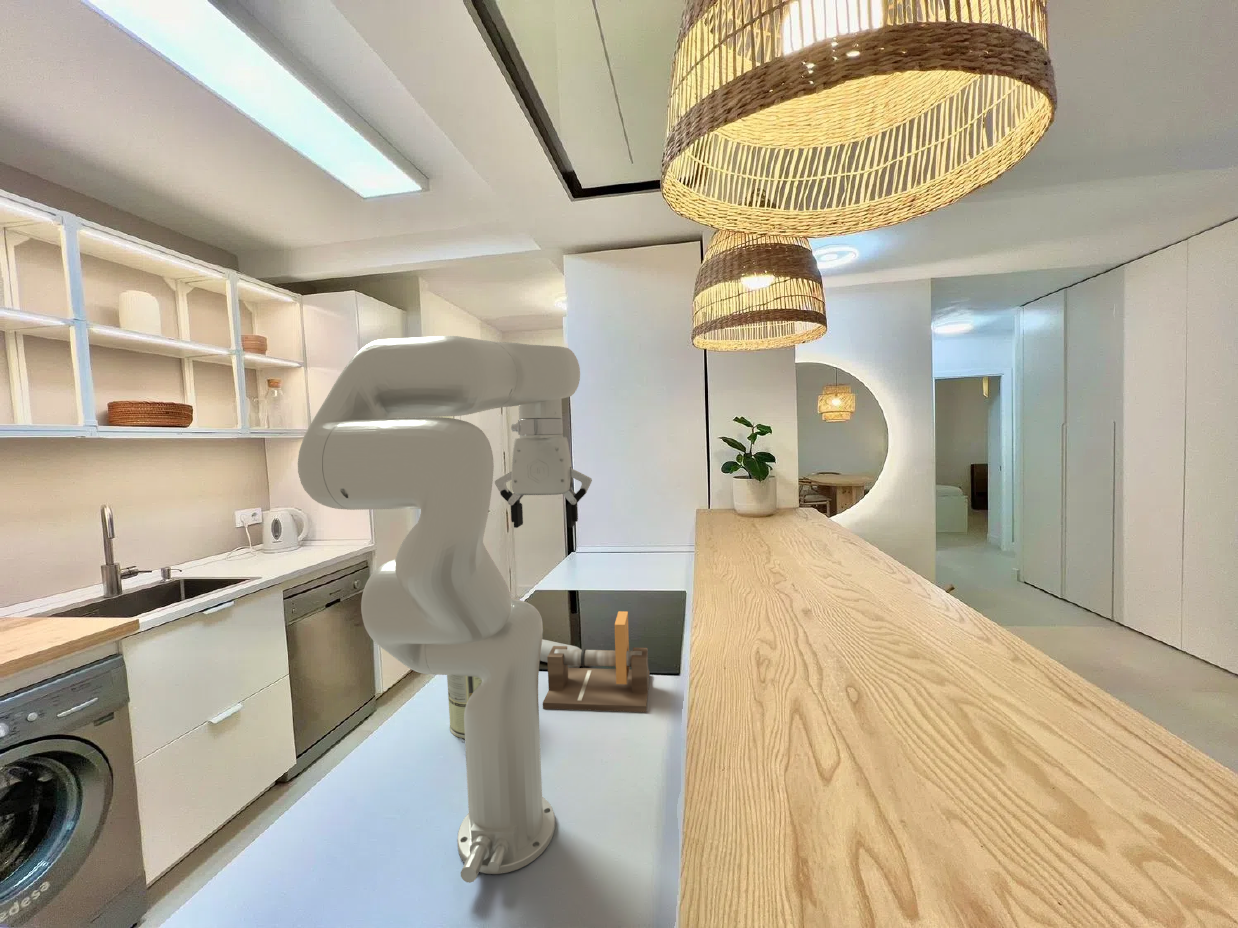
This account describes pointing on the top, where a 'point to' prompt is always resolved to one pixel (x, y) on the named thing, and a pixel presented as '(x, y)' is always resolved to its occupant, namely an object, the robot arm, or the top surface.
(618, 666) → the orange flat block
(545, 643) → the tube
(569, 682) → the pipe stand
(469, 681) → the coffee can
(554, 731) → the top surface
